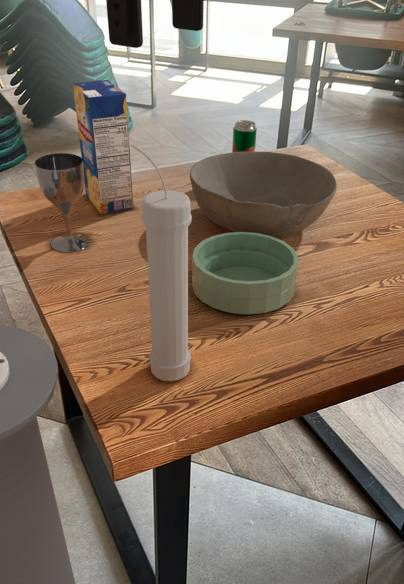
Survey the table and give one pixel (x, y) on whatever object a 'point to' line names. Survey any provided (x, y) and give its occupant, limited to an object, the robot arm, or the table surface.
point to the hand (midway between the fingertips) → (158, 36)
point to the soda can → (244, 136)
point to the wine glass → (63, 193)
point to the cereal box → (104, 144)
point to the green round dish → (244, 272)
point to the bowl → (262, 191)
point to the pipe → (168, 279)
